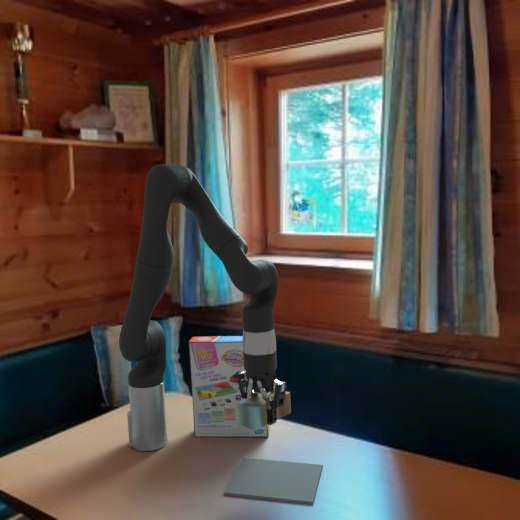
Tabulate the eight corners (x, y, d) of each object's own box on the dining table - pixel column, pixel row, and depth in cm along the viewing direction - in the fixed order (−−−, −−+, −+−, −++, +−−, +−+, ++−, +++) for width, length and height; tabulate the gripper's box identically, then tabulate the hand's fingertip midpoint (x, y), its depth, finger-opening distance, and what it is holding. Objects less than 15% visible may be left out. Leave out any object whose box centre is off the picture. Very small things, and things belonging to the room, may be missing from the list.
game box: (270, 429, 156) (267, 335, 152) (268, 438, 150) (265, 340, 147) (197, 428, 158) (192, 335, 154) (193, 437, 152) (188, 341, 149)
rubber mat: (223, 494, 124) (223, 492, 123) (242, 459, 139) (242, 457, 139) (313, 504, 119) (313, 501, 119) (322, 467, 134) (322, 464, 134)
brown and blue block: (290, 392, 130) (254, 408, 121) (291, 412, 131) (255, 430, 122) (274, 387, 133) (238, 403, 125) (275, 407, 134) (239, 424, 126)
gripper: (225, 347, 127) (229, 418, 130) (271, 358, 118) (275, 434, 120) (248, 339, 133) (252, 408, 135) (294, 349, 123) (297, 423, 125)
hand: (262, 420), depth 127 cm, fingers closed on brown and blue block, 5 cm apart
